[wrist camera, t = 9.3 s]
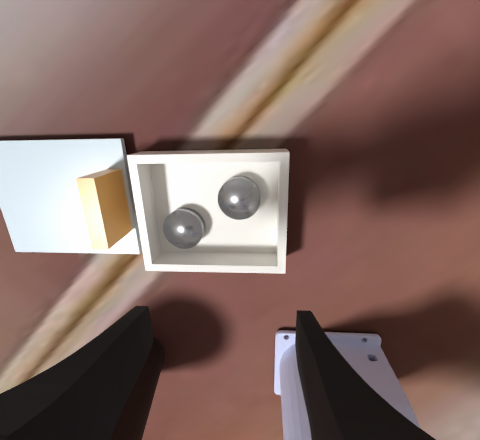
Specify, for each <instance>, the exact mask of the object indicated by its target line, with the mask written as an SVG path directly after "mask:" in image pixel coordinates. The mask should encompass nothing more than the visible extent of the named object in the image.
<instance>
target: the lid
mask: <svg viewBox="0 0 480 440" xmlns="http://www.w3.org/2000/svg"><path fill="white" fill-rule="evenodd" d="M0 207H1V210H2V213H3V216H4V219H5V222H6V225H7V228H8V231H9V234H10V237H11V240H12V243H13V246H14V249H15V251H16V252H59V253H112V254H140V253H141V252H142V247H141V241H140V235H139V229H138V222H137V216H136V210H135V204H134V198H133V192H132V185H131V179H130V173H129V167H128V161H127V154H126V148H125V142H124V138H113V139H61V140H8V141H0Z"/></svg>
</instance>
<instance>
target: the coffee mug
mask: <svg viewBox="0 0 480 440" xmlns="http://www.w3.org/2000/svg"><path fill="white" fill-rule="evenodd" d="M153 337H154V336H153ZM163 360H164V351H163V348H162V346H161V344H160V343H159V342H158V340H157V339H156V338H155V337H154V341H153V344H152V347H151V350H150V353H149V355H148V358H147V361H146V363H145V365H144V367H143V369H142V371H141V373H140V375H139V377H138V379H137V381H136V383H135V385H134V387H133V390H132V392H131V394H130V396H129V398H128V400H127V402H126V404H125V406H124V408H123V410H122V412H121V415H120V417H119V419H118V422H117V424H116V427H115V429H114V432H113V435H112V437H111V440H142V436H143V433H144V429H145V426H146V422H147V418H148V415H149V411H150V407H151V404H152V400H153V397H154V393H155V389H156V386H157V382H158V379H159V375H160V371H161V368H162V364H163Z"/></svg>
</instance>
